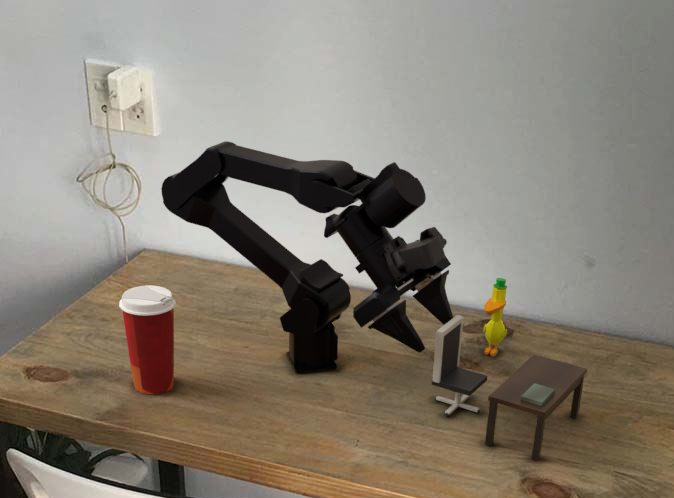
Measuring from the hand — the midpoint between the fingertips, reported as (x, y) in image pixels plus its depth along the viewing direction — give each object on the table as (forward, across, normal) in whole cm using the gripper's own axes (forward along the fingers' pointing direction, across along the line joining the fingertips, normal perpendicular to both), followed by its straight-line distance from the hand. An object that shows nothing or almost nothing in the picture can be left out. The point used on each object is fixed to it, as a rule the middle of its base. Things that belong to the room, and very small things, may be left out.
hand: (437, 338), depth 156 cm
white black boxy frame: (+10, 0, +4) cm, 10 cm away
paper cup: (-18, -19, +32) cm, 42 cm away
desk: (+18, 0, -4) cm, 18 cm away
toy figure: (+7, +18, +7) cm, 21 cm away
